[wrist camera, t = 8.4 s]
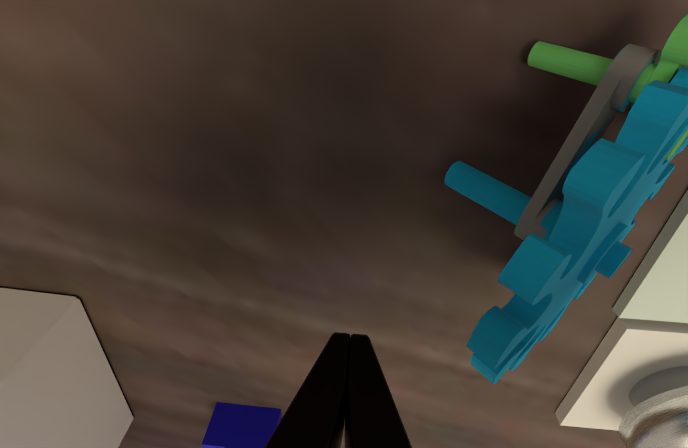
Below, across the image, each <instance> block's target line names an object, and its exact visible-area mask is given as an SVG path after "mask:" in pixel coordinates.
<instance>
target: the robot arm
mask: <svg viewBox="0 0 688 448" xmlns="http://www.w3.org/2000/svg"><path fill="white" fill-rule="evenodd" d="M345 409H346V410H345ZM344 421H345V448H412V446H411V444H410V441H409V439H408V436H407V433H406V431H405V428H404V426H403V423H402V421H401V418H400V415H399V413H398V410H397V408H396V405H395V403H394V400H393V398H392V395H391V392H390V390H389V387H388V385H387V382H386V380H385V377H384V374H383V372H382V369H381V367H380V364H379V362H378V359H377V356H376V354H375V351H374V349H373V346H372V344H371V341H370V339H369V337H368V336H367V335H361V334H352V335H351V339H350V334H348V333H337V332H335V333H333V334H332V336H331V337H330V339H329V341H328V342H327V344H326V346H325V347H324V349H323V351H322V352H321V354H320V356H319V357H318V359H317V361H316V362H315V364H314V366H313V367H312V369H311V371H310V372H309V374H308V376H307V377H306V379H305V381H304V382H303V384H302V386H301V387H300V389H299V391H298V392H297V394H296V396H295V397H294V399H293V401H292V403H291V404H290V406H289V408H288V409H287V411H286V413H285V414H284V416H283V418H282V419H281V421H280V423H279V424H278V426H277V428H276V429H275V431H274V433H273V434H272V436H271V438H270V439H269V441H268V443H267V444H266V446H265V448H340V447H341V442H342V436H343V430H344Z"/></svg>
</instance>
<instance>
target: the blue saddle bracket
mask: <svg viewBox="0 0 688 448" xmlns="http://www.w3.org/2000/svg"><path fill="white" fill-rule="evenodd" d="M281 419H282V418H281V409H276V408H266V407H257V406H248V405H238V404H229V403H219V402H217V404H216V407H215V409H214V412H213V415H212V418H211V420H210V423H209V426H208V428H207V431H206V434H205V437H204V439H203V442H202V447H203V448H265V446H266V444H267V443H268V441H269V439H270V438H271V436H272V434H273V433H274V431H275V429H276V428H277V426H278V424H279V423H280V421H281Z"/></svg>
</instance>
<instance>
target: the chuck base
mask: <svg viewBox="0 0 688 448" xmlns="http://www.w3.org/2000/svg"><path fill="white" fill-rule="evenodd" d="M684 386H688V323H680V322H667V321H654V320H640V319H627V318H619V317H617V319H616V320H615V322H614V324H613V325H612V327H611V328H610V330H609V331H608V333H607V334H606V336H605V337H604V339H603V340H602V342H601V343H600V345H599V346H598V348H597V349H596V351H595V352H594V354H593V355H592V357H591V358H590V360H589V362H588V363H587V365H586V366H585V368H584V369H583V371H582V372H581V374H580V375H579V377H578V378H577V380H576V381H575V383H574V384H573V386H572V387H571V389H570V390H569V392H568V393H567V395H566V396H565V398H564V400H563V401H562V403H561V404H560V406H559V407H558V409H557V410H556V412H555V414H556V416H557V419H558V422H559V424H560V425H563V426H574V427H585V428H596V429H607V430H618V429H619V424H620V422H621V420H622V419H623V417H624V416H625V415H626V414H627V413H628V412H629V411H630V410H631V409H632V408H634V407H635V406H637V405H638V404H640V403H641V402H643V401H645V400H647V399H649V398H651V397H653V396H656V395H658V394H661V393H664V392H666V391H669V390H673V389H676V388H680V387H684Z"/></svg>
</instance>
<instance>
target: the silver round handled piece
mask: <svg viewBox="0 0 688 448" xmlns="http://www.w3.org/2000/svg"><path fill="white" fill-rule="evenodd" d="M618 431H619V435H620V437H621V439H622V441H623V443H624V445H625V447H626V448H688V386H684V387H680V388H676V389H673V390H669V391H666V392H664V393H661V394H658V395H656V396H653V397H651V398H649V399H647V400H645V401H643V402H641V403H640V404H638V405H637V406H635V407H634V408H632V409H631V410H630V411H629V412H628V413H627V414H626V415H625V416H624V417H623V419H622V420H621V422H620V424H619V429H618Z"/></svg>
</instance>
